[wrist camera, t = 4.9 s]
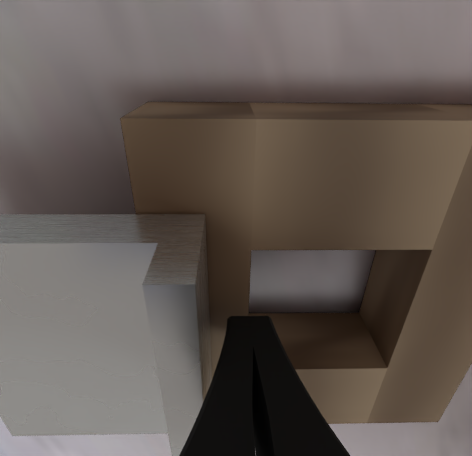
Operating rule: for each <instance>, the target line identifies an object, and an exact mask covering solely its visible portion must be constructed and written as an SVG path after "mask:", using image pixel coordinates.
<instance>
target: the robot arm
mask: <svg viewBox="0 0 472 456" xmlns="http://www.w3.org/2000/svg"><path fill="white" fill-rule="evenodd" d="M255 451H256V455H255ZM179 456H350V455H349V453H348V452H347V450H346V449H345V448H344V446H343V445H342V443H341V442H340V441H339V439H338V438H337V436H336V435H335V433H334V432H333V431H332V429H331V428H330V426H329V425H328V423H327V422H326V420H325V419H324V417H323V416H322V414H321V412H320V411H319V409H318V408H317V406H316V404H315V403H314V401H313V400H312V398H311V397H310V395H309V393H308V391H307V390H306V388H305V386H304V385H303V383H302V381H301V379H300V378H299V376H298V374H297V372H296V370H295V369H294V367H293V365H292V363H291V361H290V359H289V357H288V356H287V354H286V351H285V349H284V347H283V345H282V343H281V341H280V339H279V337H278V334H277V332H276V330H275V327H274V325H273V322H272V319H271V318H270V317H269V316H230V317H229V318H228V319H227V328H226V334H225V338H224V343H223V347H222V350H221V354H220V357H219V360H218V363H217V366H216V369H215V372H214V376H213V379H212V381H211V384H210V387H209V389H208V392H207V394H206V397H205V399H204V402H203V404H202V407H201V409H200V412H199V414H198V416H197V419H196V421H195V423H194V425H193V428H192V430H191V432H190V434H189V436H188V438H187V441H186V443H185V445H184V447H183V449H182V451H181V453H180V455H179Z"/></svg>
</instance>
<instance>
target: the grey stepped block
mask: <svg viewBox="0 0 472 456" xmlns="http://www.w3.org/2000/svg"><path fill="white" fill-rule="evenodd" d="M211 381H212V364H211V341H210V317H209V294H208V270H207V247H206V223H205V214H0V417H1V418H2V420H3V422H4V423H5V425H6V426H7V428H8V430H9V431H10V433H11V435H12V436H45V435H104V434H163V433H168V436H169V442H170V447H171V453H172V456H179V455H180V453H181V451H182V449H183V447H184V445H185V443H186V441H187V438H188V436H189V434H190V432H191V430H192V428H193V425H194V423H195V421H196V419H197V416H198V414H199V412H200V409H201V407H202V404H203V402H204V399H205V397H206V394H207V392H208V389H209V387H210V384H211Z"/></svg>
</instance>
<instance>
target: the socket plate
mask: <svg viewBox="0 0 472 456" xmlns="http://www.w3.org/2000/svg"><path fill="white" fill-rule="evenodd" d="M120 121H121V127H122V133H123V139H124V145H125V151H126V157H127V163H128V170H129V176H130V182H131V188H132V194H133V200H134V206H135V212H136V214H205V223H206V247H207V270H208V294H209V317H210V341H211V364H212V379H213V376H214V372H215V369H216V366H217V363H218V360H219V357H220V354H221V350H222V347H223V343H224V338H225V334H226V328H227V319H228V318H229V317H230V316H269V317H270V318H271V319H272V322H273V325H274V327H275V330H276V332H277V334H278V337H279V339H280V341H281V343H282V345H283V347H284V349H285V351H286V354H287V356H288V357H289V359H290V361H291V363H292V365H293V367H294V369H295V370H296V372H297V374H298V376H299V378H300V379H301V381H302V383H303V385H304V386H305V388H306V390H307V391H308V393H309V395H310V397H311V398H312V400H313V401H314V403H315V404H316V406H317V408H318V409H319V411H320V412H321V414H322V416H323V417H324V419H325V420H326V422H327V423H328V424H340V423H401V422H438V421H439V420H440V418H441V416H442V414H443V413H444V411H445V409H446V407H447V406H448V404H449V402H450V400H451V399H452V397H453V395H454V393H455V392H456V390H457V388H458V386H459V385H460V383H461V381H462V379H463V378H464V376H465V374H466V372H467V371H468V369H469V367H470V365H471V364H472V104H366V103H243V102H147V103H145V104H144V105H142V106H140V107H139V108H137V109H135V110H133V111H132V112H130V113H128V114H127V115H125V116H123V117H121V118H120ZM251 250H376V253H375V256H374V260H373V264H372V267H371V271H370V275H369V278H368V282H367V286H366V289H365V293H364V297H363V300H362V304H361V308H360V311H359V313H249V292H250V267H251Z"/></svg>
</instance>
